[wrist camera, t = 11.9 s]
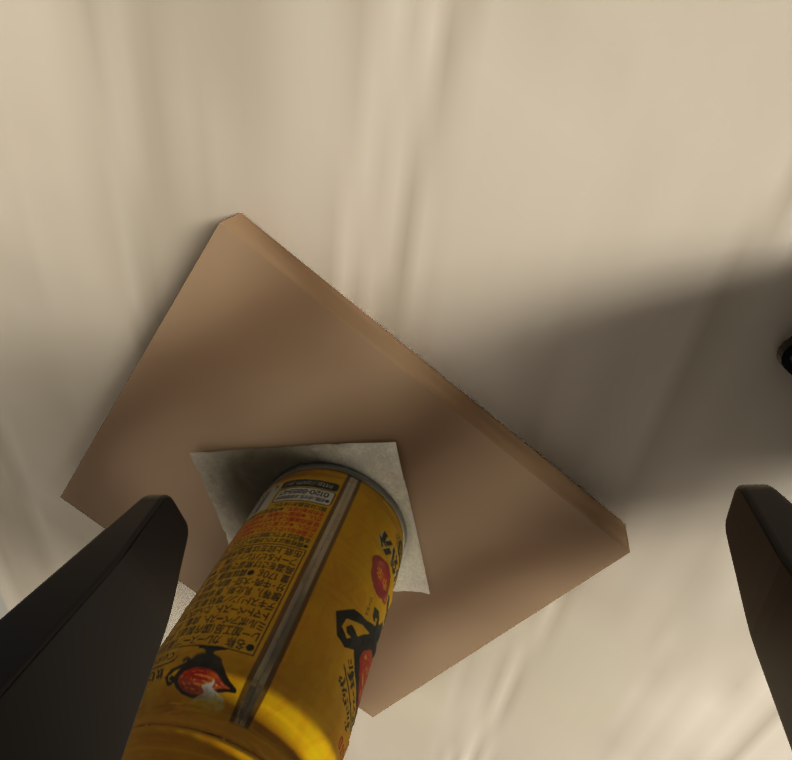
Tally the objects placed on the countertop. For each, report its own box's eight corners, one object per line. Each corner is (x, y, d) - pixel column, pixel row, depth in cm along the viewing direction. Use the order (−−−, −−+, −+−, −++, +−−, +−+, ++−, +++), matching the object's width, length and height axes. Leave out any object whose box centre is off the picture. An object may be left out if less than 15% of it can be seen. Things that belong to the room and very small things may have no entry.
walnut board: (625, 524, 22) (629, 552, 21) (380, 689, 30) (372, 716, 29) (240, 212, 20) (219, 222, 19) (83, 477, 28) (60, 497, 27)
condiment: (431, 590, 24) (343, 978, 14) (247, 585, 27) (55, 913, 16) (397, 437, 21) (252, 788, 11) (193, 447, 24) (-85, 742, 13)
